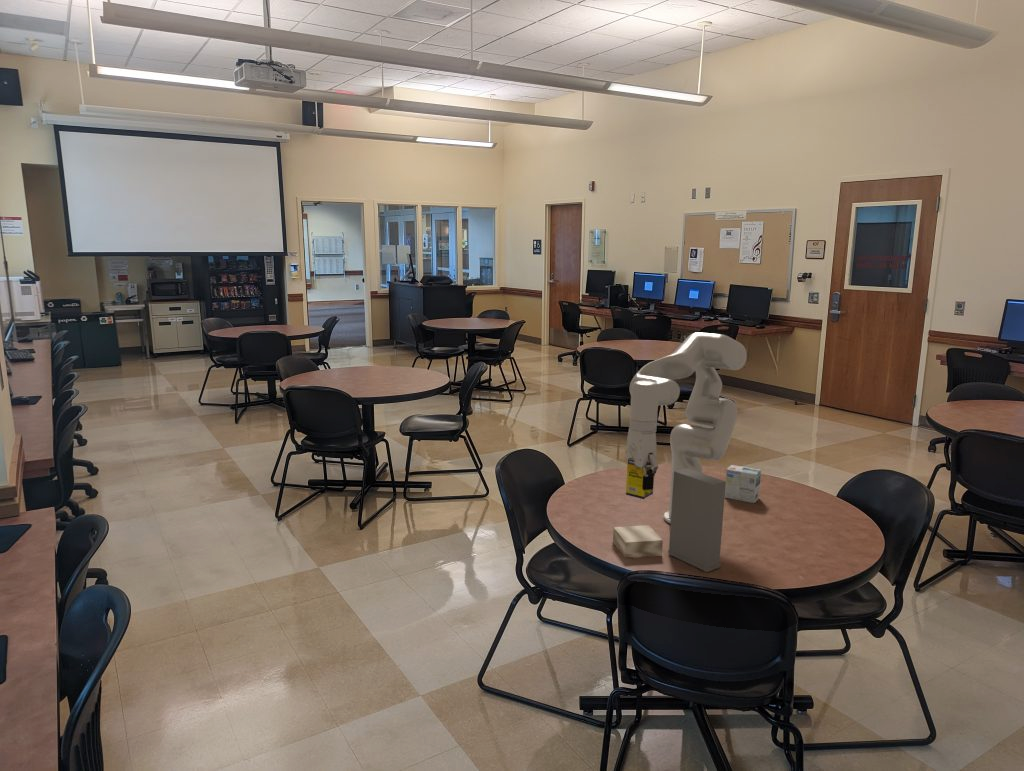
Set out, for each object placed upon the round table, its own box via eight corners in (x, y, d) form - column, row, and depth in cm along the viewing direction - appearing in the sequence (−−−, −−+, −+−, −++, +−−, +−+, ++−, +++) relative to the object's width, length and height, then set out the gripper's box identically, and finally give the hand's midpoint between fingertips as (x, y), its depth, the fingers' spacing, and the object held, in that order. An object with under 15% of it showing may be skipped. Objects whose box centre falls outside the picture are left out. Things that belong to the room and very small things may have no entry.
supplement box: (644, 499, 194) (646, 462, 192) (625, 495, 198) (626, 458, 196) (653, 494, 199) (655, 457, 197) (634, 489, 202) (636, 453, 200)
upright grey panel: (721, 567, 190) (728, 480, 185) (706, 573, 187) (713, 485, 182) (682, 549, 201) (687, 467, 196) (668, 554, 198) (673, 471, 193)
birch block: (647, 540, 208) (648, 525, 207) (661, 556, 197) (662, 540, 196) (612, 543, 206) (613, 527, 205) (625, 559, 195) (625, 542, 194)
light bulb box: (759, 498, 244) (762, 469, 242) (754, 504, 238) (757, 474, 236) (728, 492, 250) (731, 463, 248) (723, 497, 244) (725, 468, 242)
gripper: (617, 418, 201) (614, 476, 205) (646, 433, 185) (643, 495, 188) (640, 417, 204) (637, 473, 207) (671, 431, 187) (667, 493, 191)
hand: (640, 484), depth 198 cm, fingers closed on supplement box, 8 cm apart
